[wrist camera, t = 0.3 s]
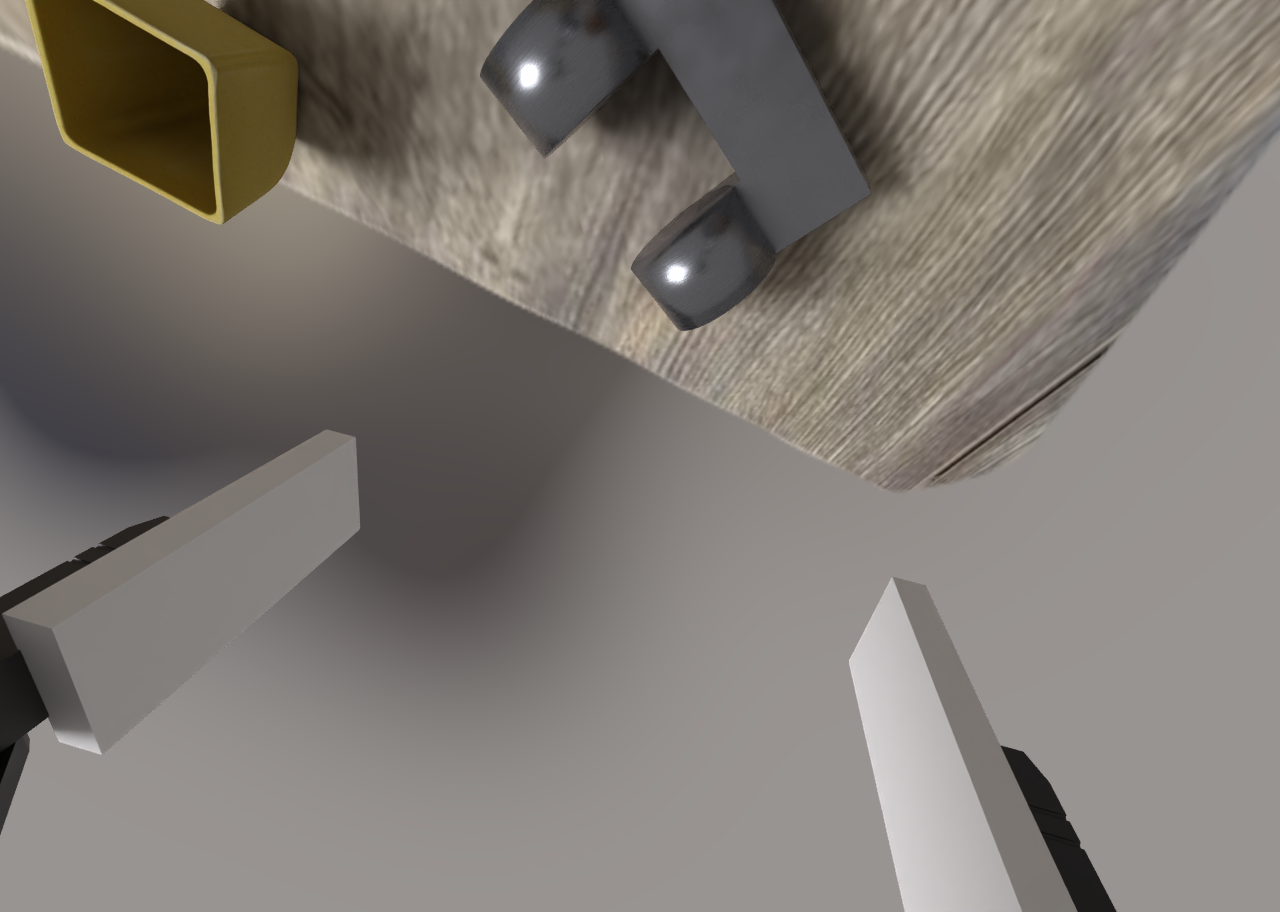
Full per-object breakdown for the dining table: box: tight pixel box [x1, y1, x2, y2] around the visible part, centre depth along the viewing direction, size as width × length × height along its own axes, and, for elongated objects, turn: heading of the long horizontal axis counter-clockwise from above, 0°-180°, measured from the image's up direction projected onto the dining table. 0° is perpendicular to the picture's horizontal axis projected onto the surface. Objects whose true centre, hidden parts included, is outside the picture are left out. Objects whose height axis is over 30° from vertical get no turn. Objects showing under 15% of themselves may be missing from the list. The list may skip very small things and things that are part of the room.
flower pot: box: [25, 0, 299, 225], centre depth 30 cm, size 9×9×9 cm
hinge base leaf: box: [480, 0, 871, 331], centre depth 28 cm, size 12×16×7 cm
